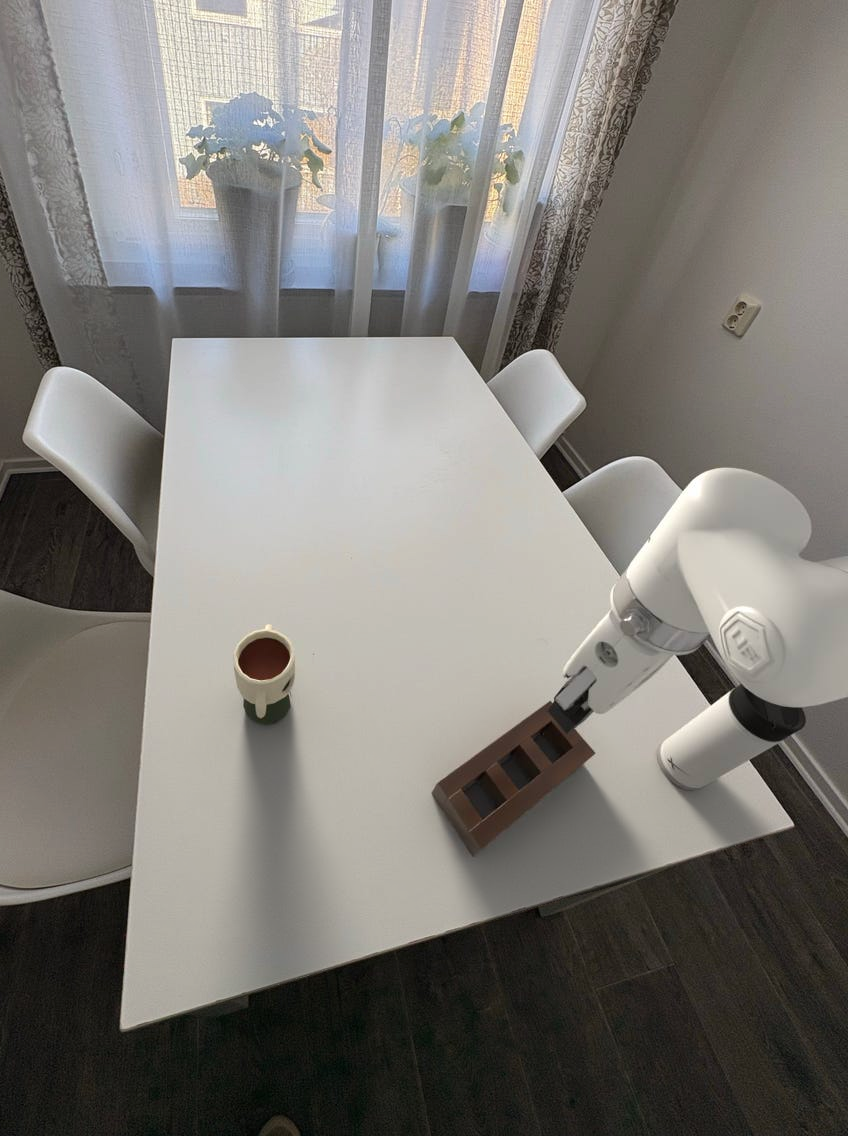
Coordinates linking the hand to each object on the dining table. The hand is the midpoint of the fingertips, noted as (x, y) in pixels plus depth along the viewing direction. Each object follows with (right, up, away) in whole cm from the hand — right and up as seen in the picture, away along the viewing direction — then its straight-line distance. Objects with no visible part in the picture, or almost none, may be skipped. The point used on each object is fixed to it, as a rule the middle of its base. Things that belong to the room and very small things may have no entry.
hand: (578, 701), depth 55 cm
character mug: (-35, -6, +15) cm, 39 cm away
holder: (-4, -14, +12) cm, 19 cm away
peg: (0, -3, +3) cm, 4 cm away
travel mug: (+19, -15, +15) cm, 29 cm away
